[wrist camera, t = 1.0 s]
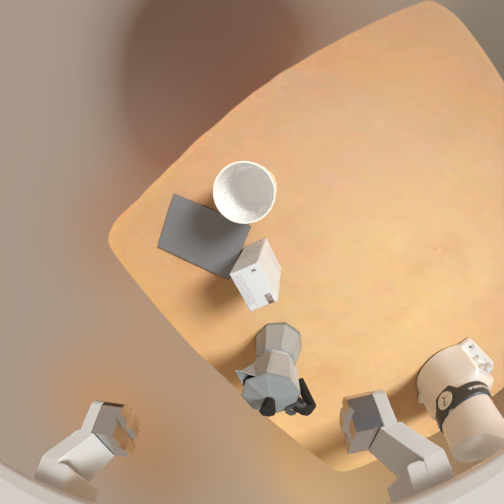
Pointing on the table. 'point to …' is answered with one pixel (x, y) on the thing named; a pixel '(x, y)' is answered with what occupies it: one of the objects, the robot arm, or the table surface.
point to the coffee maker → (276, 373)
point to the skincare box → (257, 275)
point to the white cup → (244, 192)
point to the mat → (202, 236)
